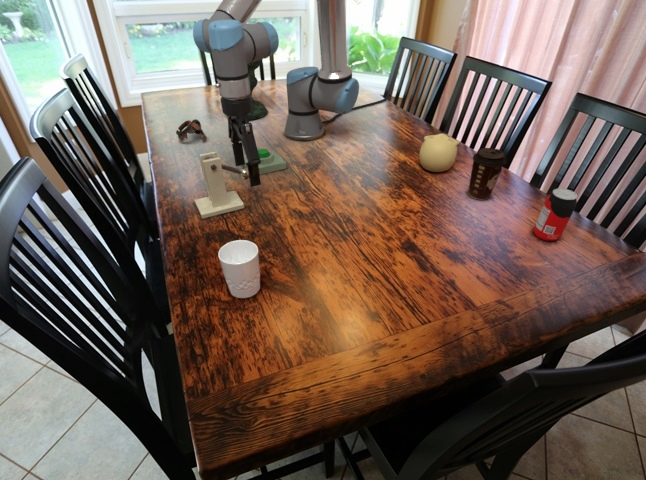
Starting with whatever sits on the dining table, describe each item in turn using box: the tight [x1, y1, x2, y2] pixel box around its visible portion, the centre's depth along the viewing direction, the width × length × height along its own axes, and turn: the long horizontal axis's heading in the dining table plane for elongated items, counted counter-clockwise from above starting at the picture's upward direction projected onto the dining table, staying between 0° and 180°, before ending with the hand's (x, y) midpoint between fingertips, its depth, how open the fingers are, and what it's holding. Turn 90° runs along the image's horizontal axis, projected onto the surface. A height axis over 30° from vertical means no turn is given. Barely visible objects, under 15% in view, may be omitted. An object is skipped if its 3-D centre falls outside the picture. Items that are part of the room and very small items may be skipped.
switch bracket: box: [194, 151, 246, 220], centre depth 104 cm, size 12×9×15 cm
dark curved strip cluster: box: [175, 118, 207, 143], centre depth 144 cm, size 12×10×8 cm
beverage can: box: [533, 187, 578, 242], centre depth 92 cm, size 6×6×12 cm
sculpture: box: [418, 133, 460, 173], centre depth 122 cm, size 12×12×11 cm
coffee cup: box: [467, 147, 508, 201], centre depth 108 cm, size 9×8×13 cm
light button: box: [257, 148, 270, 158], centre depth 124 cm, size 4×4×2 cm
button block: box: [243, 150, 287, 175], centre depth 126 cm, size 12×10×4 cm
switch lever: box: [205, 156, 249, 180], centre depth 103 cm, size 13×3×3 cm, turn 116°
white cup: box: [217, 239, 261, 299], centre depth 79 cm, size 8×8×10 cm
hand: (247, 174), depth 107 cm, fingers open, 13 cm apart
